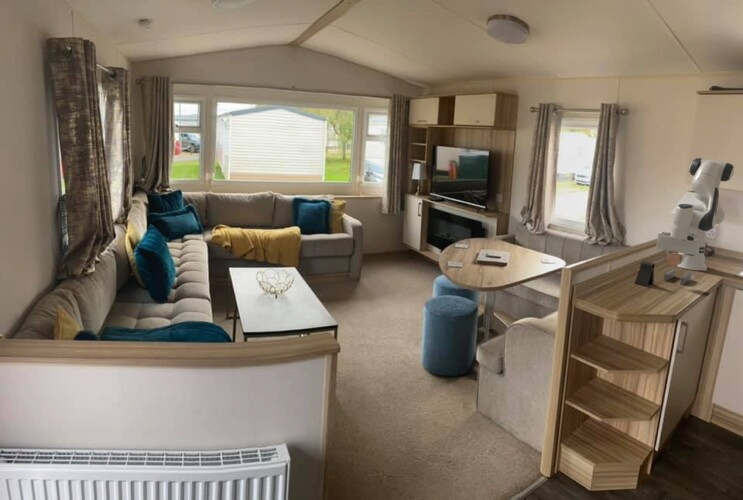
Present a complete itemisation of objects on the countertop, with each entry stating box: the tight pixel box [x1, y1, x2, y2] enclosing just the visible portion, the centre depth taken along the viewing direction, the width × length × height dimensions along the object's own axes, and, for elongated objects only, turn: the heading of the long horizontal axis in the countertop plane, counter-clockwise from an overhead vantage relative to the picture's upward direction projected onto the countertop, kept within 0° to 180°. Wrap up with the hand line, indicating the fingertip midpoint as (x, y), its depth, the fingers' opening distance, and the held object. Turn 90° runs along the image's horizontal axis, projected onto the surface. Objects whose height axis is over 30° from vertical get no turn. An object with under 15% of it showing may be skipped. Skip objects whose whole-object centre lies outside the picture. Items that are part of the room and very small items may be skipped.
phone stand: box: [634, 260, 655, 287], centre depth 299 cm, size 9×6×12 cm, turn 127°
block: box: [666, 252, 683, 267], centre depth 300 cm, size 8×5×5 cm, turn 135°
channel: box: [663, 268, 693, 285], centre depth 313 cm, size 16×10×4 cm, turn 138°
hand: (675, 259), depth 301 cm, fingers closed on block, 5 cm apart
